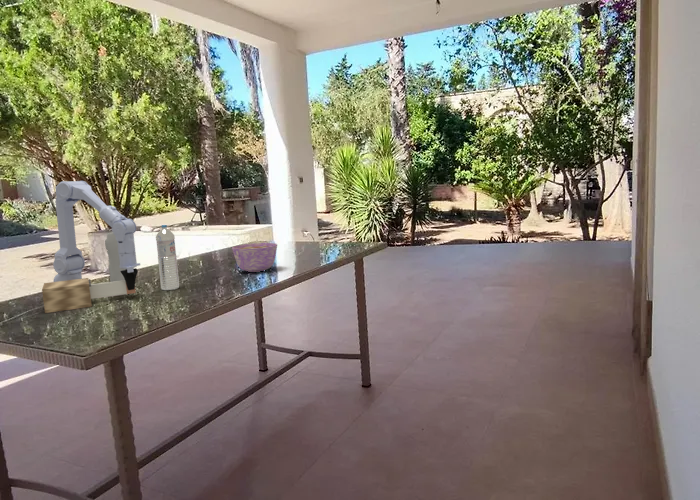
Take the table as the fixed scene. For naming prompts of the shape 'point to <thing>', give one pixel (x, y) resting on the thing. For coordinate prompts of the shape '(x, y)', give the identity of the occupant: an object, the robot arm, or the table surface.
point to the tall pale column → (113, 258)
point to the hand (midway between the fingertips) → (131, 289)
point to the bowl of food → (255, 256)
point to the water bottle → (167, 259)
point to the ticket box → (66, 295)
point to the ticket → (109, 289)
